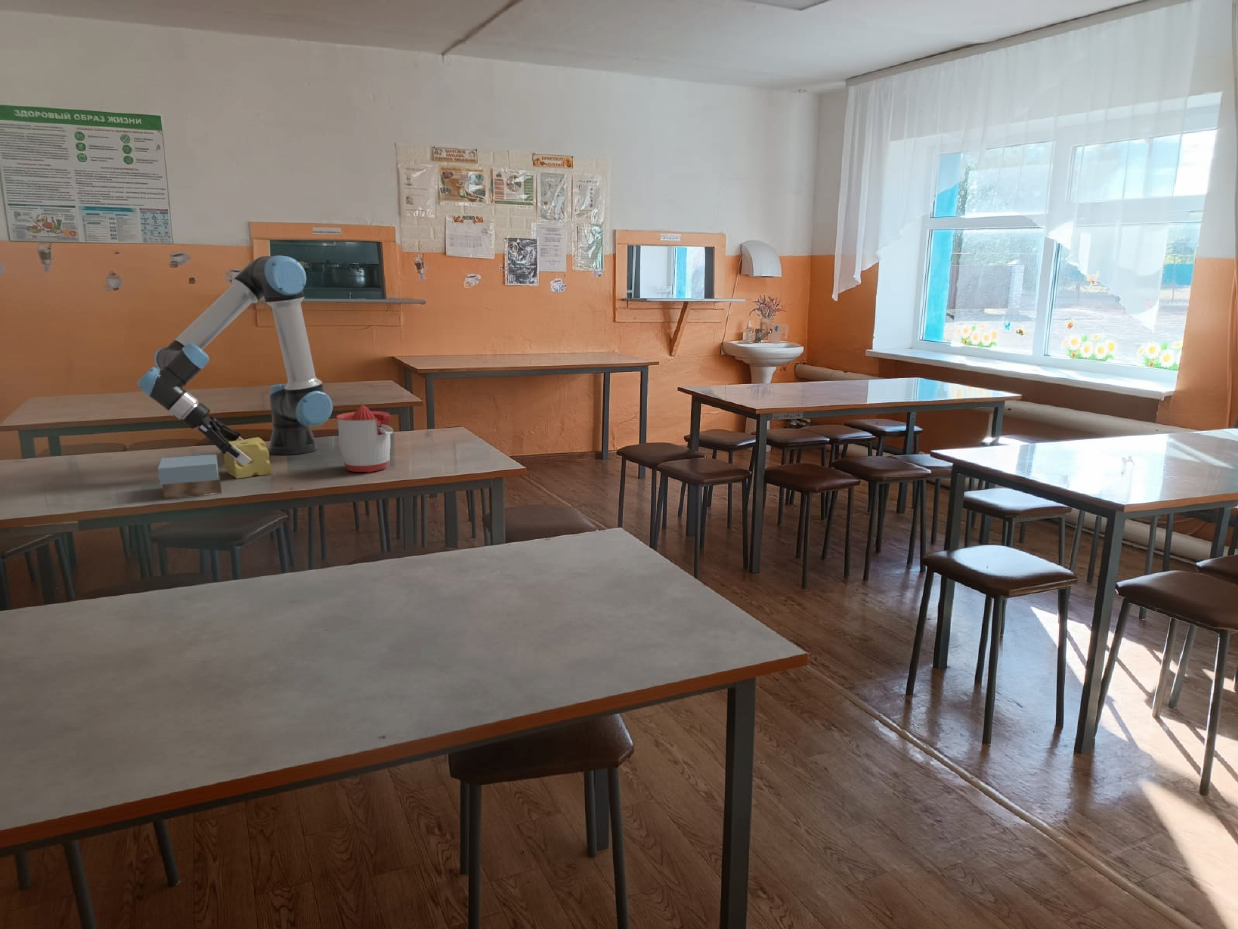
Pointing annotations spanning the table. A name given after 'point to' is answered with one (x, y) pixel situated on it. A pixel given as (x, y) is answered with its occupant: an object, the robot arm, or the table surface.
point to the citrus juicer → (364, 439)
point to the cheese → (254, 451)
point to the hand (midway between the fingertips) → (251, 458)
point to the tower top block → (188, 469)
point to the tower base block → (191, 489)
